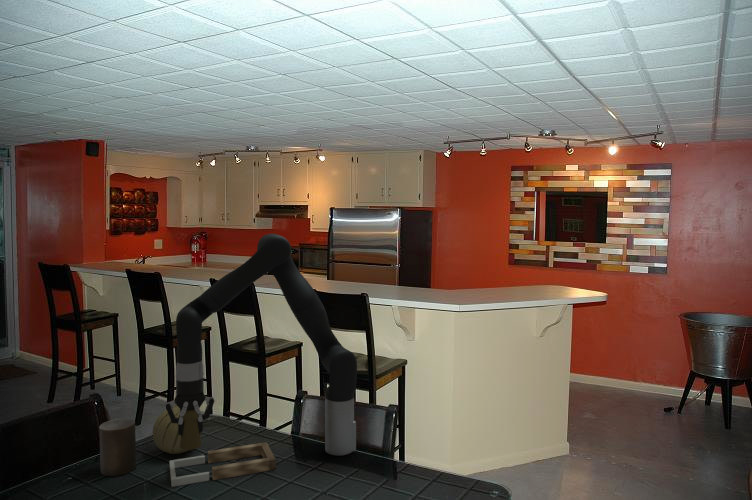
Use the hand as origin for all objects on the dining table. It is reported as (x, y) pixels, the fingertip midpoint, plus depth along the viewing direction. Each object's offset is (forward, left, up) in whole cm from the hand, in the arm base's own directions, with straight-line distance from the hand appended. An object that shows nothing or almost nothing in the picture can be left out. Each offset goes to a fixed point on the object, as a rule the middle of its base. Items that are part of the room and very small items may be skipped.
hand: (190, 434), depth 158 cm
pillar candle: (+20, -11, -12) cm, 25 cm away
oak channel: (-14, 0, -12) cm, 18 cm away
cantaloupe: (+3, -17, -12) cm, 21 cm away
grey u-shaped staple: (0, 0, -12) cm, 12 cm away
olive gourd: (0, 0, -3) cm, 3 cm away
